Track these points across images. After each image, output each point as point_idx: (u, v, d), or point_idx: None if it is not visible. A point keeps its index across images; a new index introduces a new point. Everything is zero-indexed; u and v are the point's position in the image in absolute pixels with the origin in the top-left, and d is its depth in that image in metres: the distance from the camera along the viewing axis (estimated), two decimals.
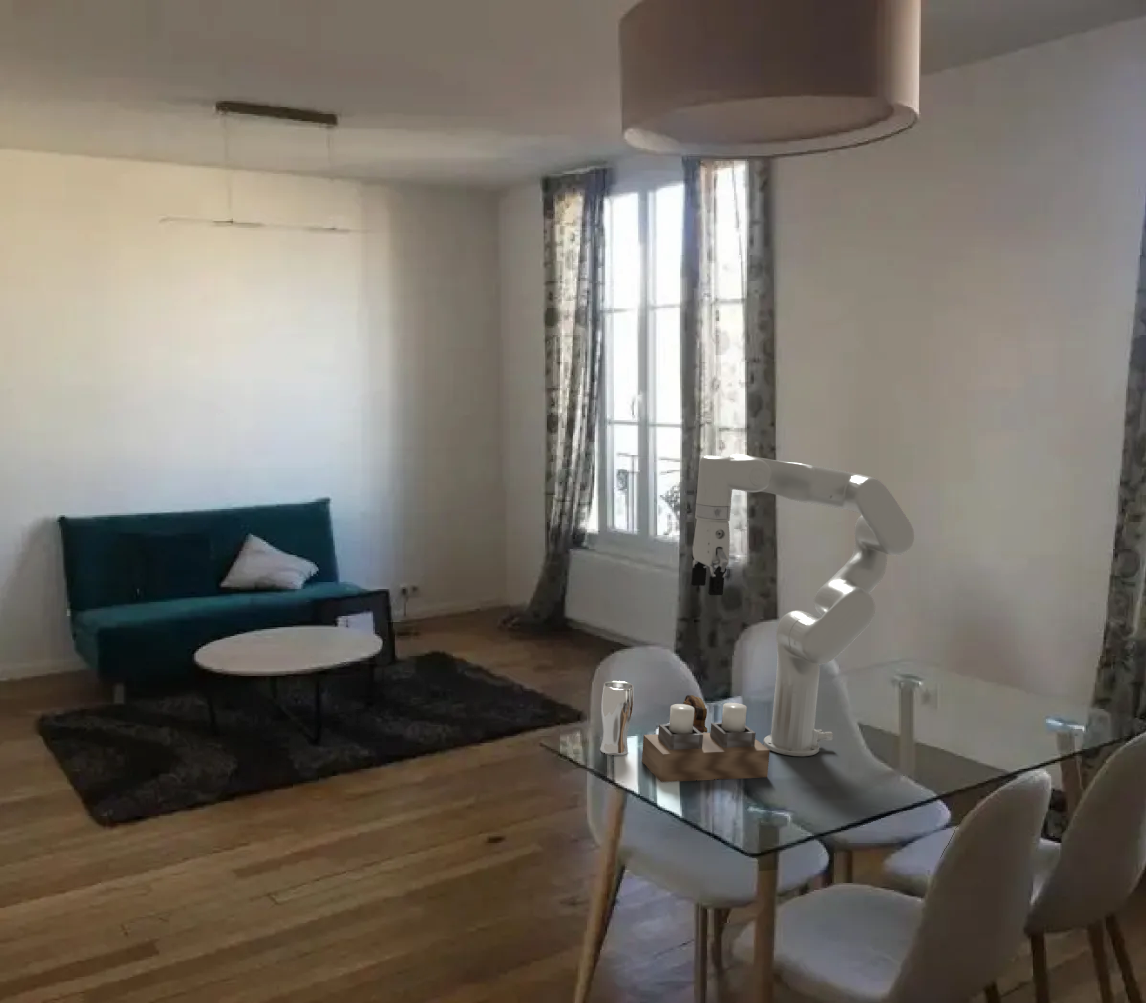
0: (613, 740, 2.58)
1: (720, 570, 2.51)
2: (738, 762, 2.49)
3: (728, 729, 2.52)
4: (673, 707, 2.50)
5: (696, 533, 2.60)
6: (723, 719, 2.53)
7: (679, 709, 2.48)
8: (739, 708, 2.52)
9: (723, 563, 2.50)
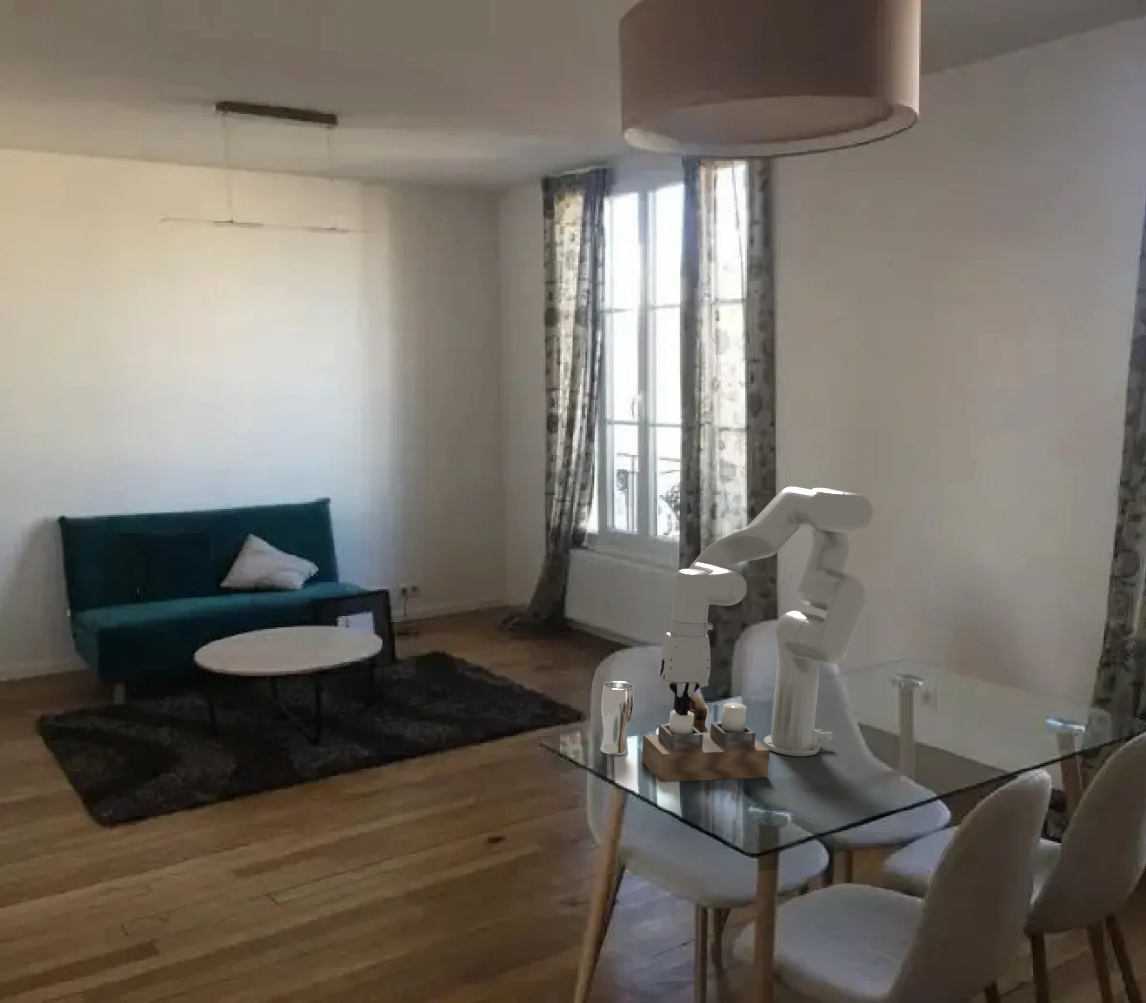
0: (613, 740, 2.58)
1: None
2: (738, 762, 2.49)
3: (728, 729, 2.52)
4: (673, 713, 2.50)
5: (679, 655, 2.45)
6: (723, 719, 2.53)
7: (679, 715, 2.49)
8: (739, 708, 2.52)
9: None
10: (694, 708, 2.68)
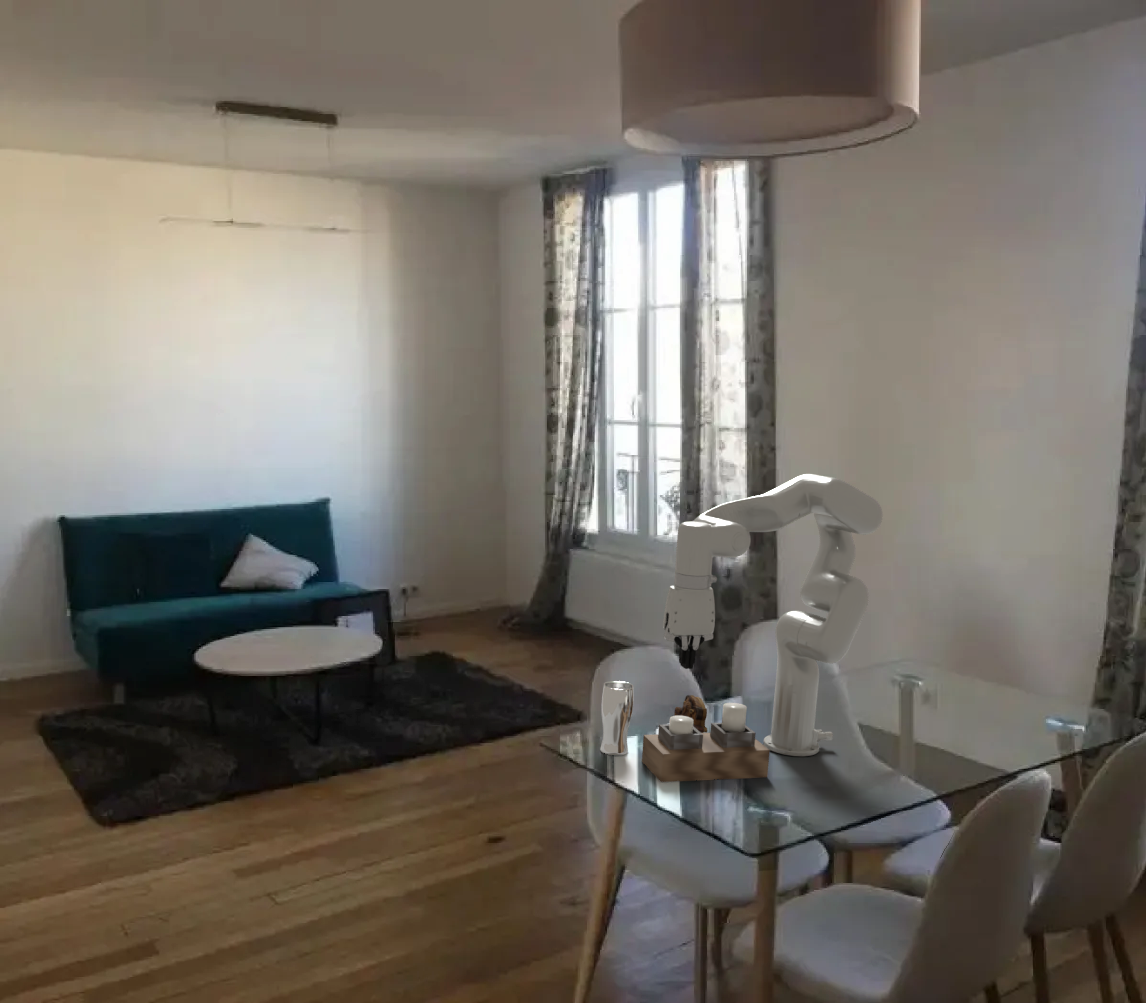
0: (613, 740, 2.58)
1: None
2: (738, 762, 2.49)
3: (728, 729, 2.52)
4: (672, 719, 2.50)
5: (683, 607, 2.44)
6: (723, 719, 2.53)
7: (678, 721, 2.49)
8: (739, 708, 2.52)
9: None
10: (694, 708, 2.68)
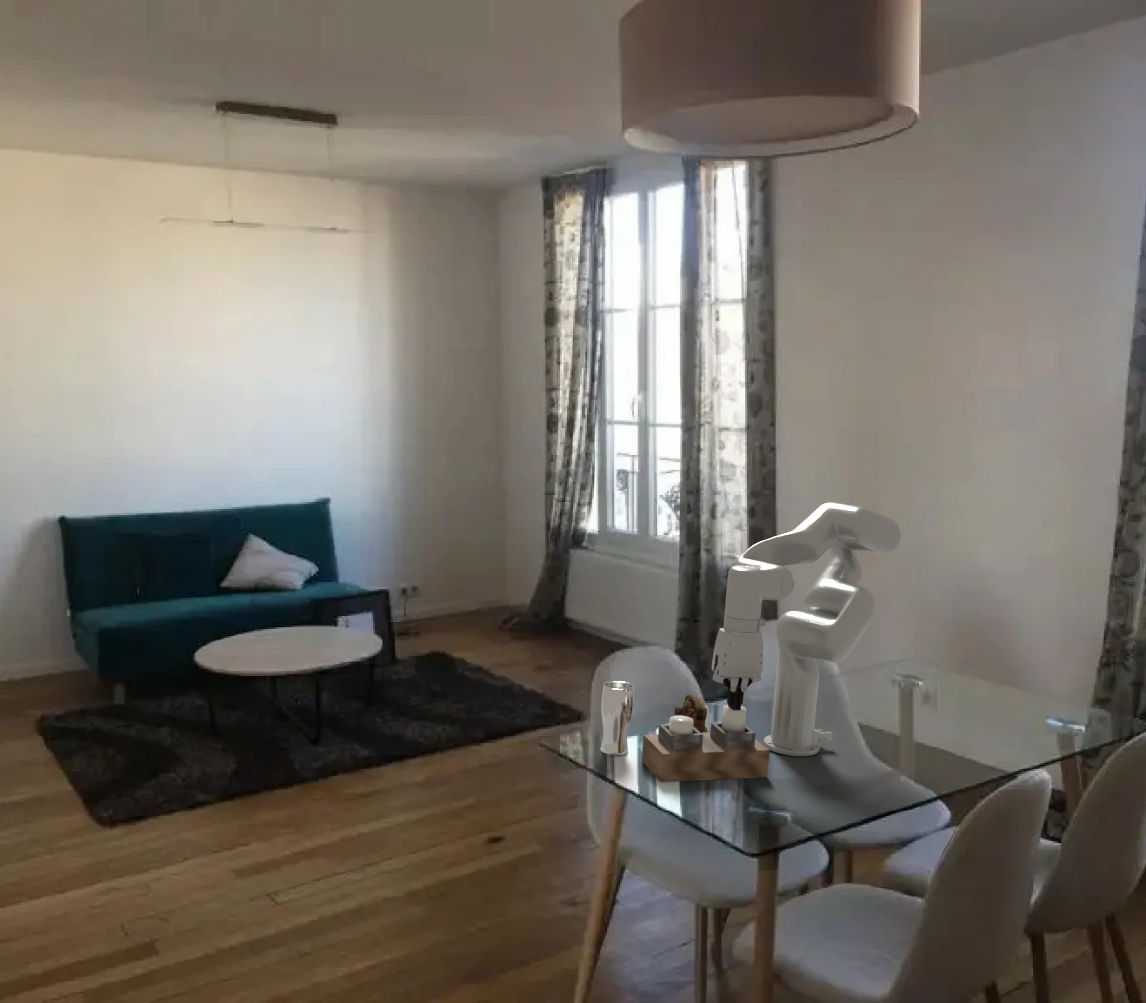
0: (613, 740, 2.58)
1: None
2: (738, 762, 2.49)
3: (728, 731, 2.52)
4: (672, 719, 2.50)
5: (732, 650, 2.48)
6: (723, 721, 2.53)
7: (678, 721, 2.49)
8: (739, 710, 2.52)
9: None
10: (694, 708, 2.68)
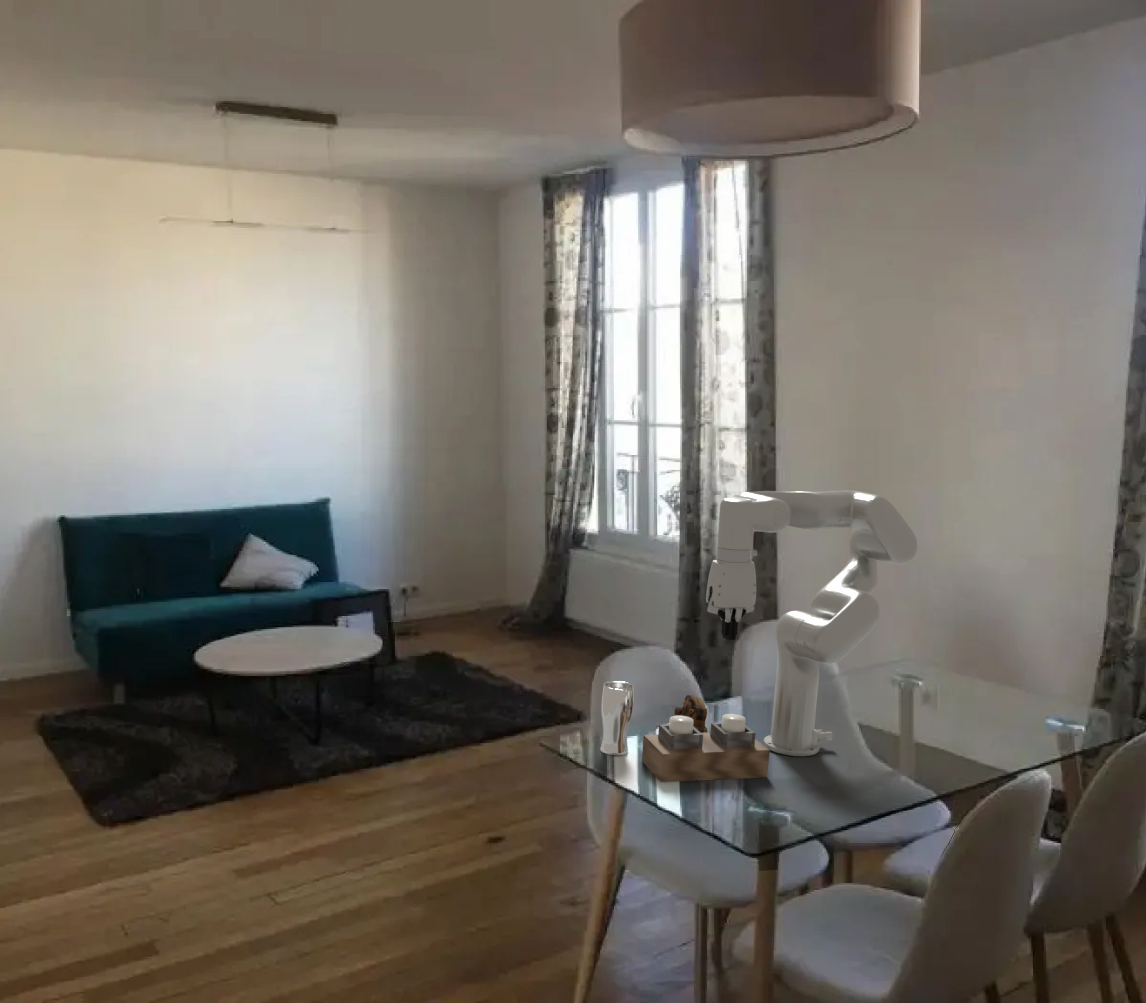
0: (613, 740, 2.58)
1: None
2: (738, 762, 2.49)
3: None
4: (672, 719, 2.50)
5: (726, 581, 2.52)
6: None
7: (678, 721, 2.49)
8: (738, 720, 2.52)
9: None
10: (694, 708, 2.68)
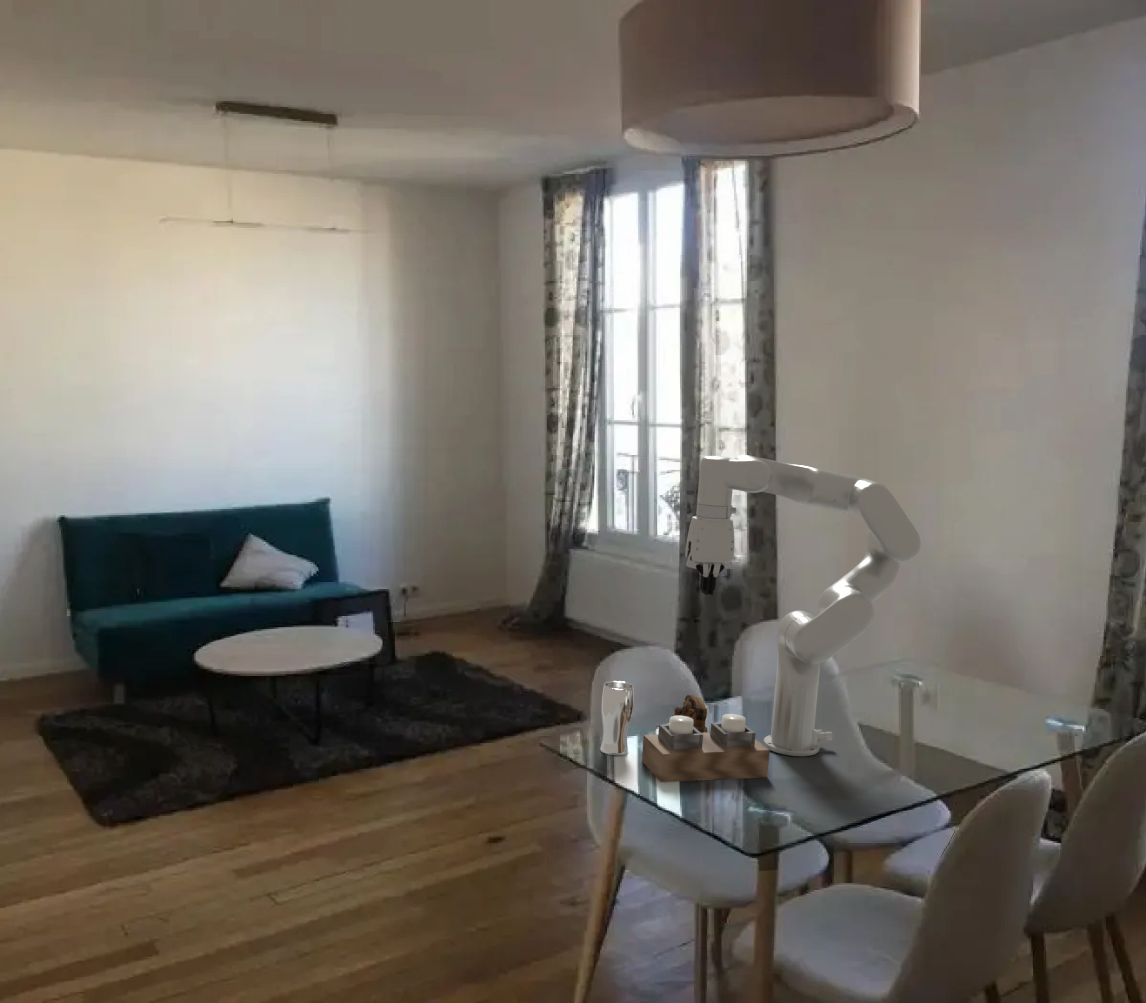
0: (613, 740, 2.58)
1: None
2: (738, 762, 2.49)
3: None
4: (672, 719, 2.50)
5: (704, 536, 2.59)
6: None
7: (678, 721, 2.49)
8: (738, 720, 2.52)
9: None
10: (694, 708, 2.68)
